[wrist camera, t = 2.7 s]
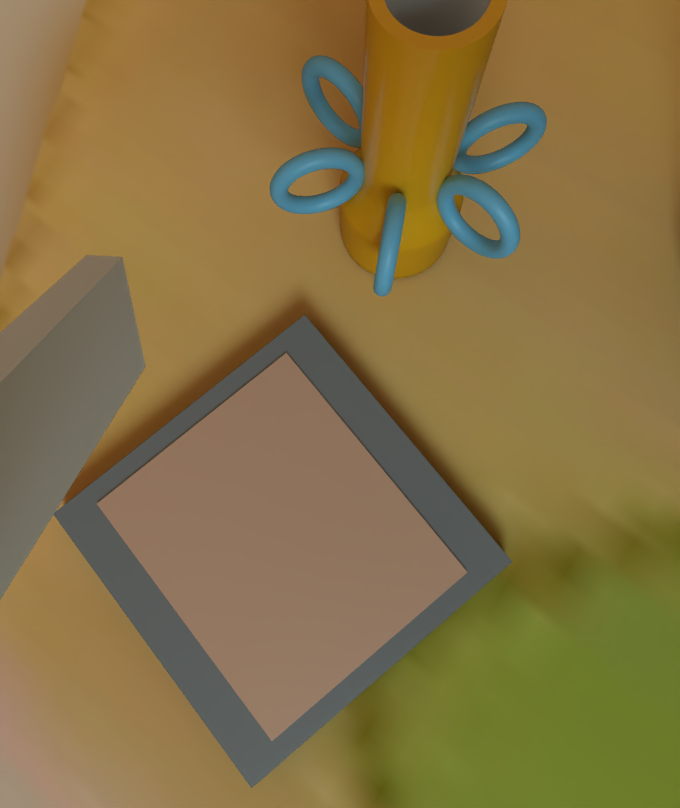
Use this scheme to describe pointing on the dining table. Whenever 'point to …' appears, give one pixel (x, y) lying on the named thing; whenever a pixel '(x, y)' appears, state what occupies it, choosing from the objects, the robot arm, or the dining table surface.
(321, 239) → the dining table surface
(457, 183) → the tube with blue rings
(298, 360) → the tray
